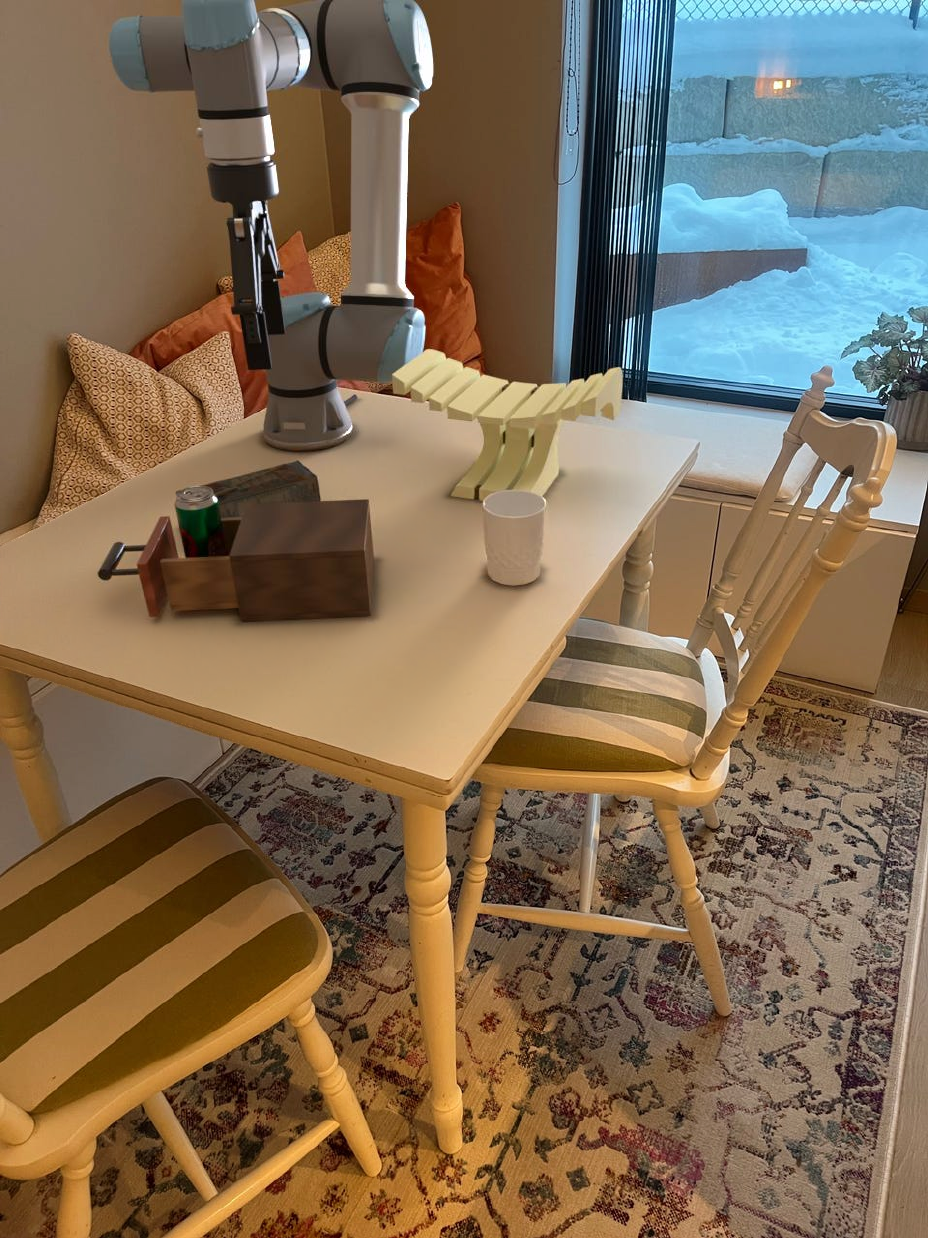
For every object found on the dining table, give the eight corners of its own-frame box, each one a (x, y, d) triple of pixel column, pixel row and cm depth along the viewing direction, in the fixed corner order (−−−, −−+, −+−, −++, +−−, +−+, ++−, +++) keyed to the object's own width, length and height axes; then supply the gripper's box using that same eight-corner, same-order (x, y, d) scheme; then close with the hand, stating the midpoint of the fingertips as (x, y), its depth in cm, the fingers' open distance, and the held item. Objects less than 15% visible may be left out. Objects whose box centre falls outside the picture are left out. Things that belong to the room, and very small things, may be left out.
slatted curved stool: (616, 473, 146) (624, 360, 136) (589, 516, 134) (596, 396, 124) (439, 449, 156) (435, 343, 146) (399, 488, 143) (391, 374, 134)
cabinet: (240, 622, 112) (228, 555, 107) (256, 566, 124) (246, 504, 119) (370, 616, 113) (364, 549, 108) (374, 561, 124) (368, 498, 119)
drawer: (100, 619, 112) (85, 566, 108) (126, 568, 122) (114, 518, 118) (270, 611, 112) (261, 558, 108) (282, 561, 123) (274, 511, 119)
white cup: (474, 565, 123) (472, 496, 117) (528, 553, 125) (529, 485, 120) (498, 593, 116) (497, 522, 111) (554, 580, 119) (557, 509, 113)
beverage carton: (180, 527, 134) (171, 485, 130) (305, 495, 142) (300, 455, 138) (197, 549, 128) (188, 506, 124) (326, 515, 136) (321, 473, 132)
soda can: (222, 592, 114) (205, 503, 108) (184, 589, 115) (165, 500, 109) (238, 572, 118) (223, 485, 112) (201, 569, 119) (184, 482, 113)
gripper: (225, 145, 113) (252, 322, 125) (182, 179, 93) (219, 386, 104) (287, 143, 113) (308, 319, 125) (258, 176, 93) (286, 383, 104)
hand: (268, 350), depth 115 cm, fingers open, 13 cm apart
